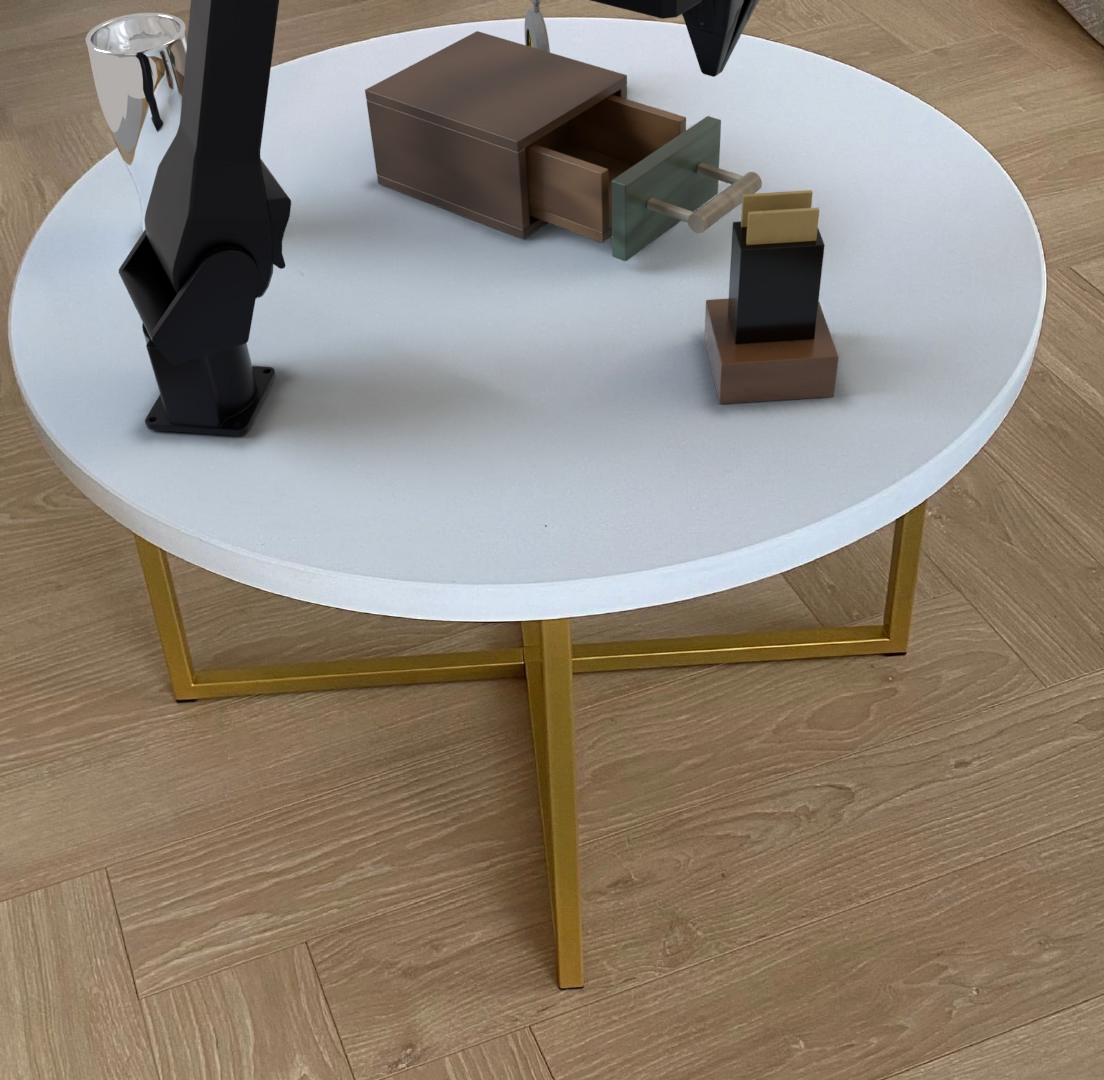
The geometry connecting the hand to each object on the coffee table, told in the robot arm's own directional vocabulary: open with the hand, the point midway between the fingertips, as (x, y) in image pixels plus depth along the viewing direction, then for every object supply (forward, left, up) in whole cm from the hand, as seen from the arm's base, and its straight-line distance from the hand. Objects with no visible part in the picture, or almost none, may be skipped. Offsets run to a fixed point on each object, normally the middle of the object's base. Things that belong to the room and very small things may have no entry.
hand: (711, 73), depth 86 cm
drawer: (+4, +6, -12) cm, 14 cm away
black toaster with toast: (-13, -5, -10) cm, 17 cm away
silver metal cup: (0, +38, -13) cm, 40 cm away
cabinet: (+10, +16, -13) cm, 23 cm away
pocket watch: (+24, +13, -13) cm, 30 cm away
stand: (-13, -5, -13) cm, 19 cm away
